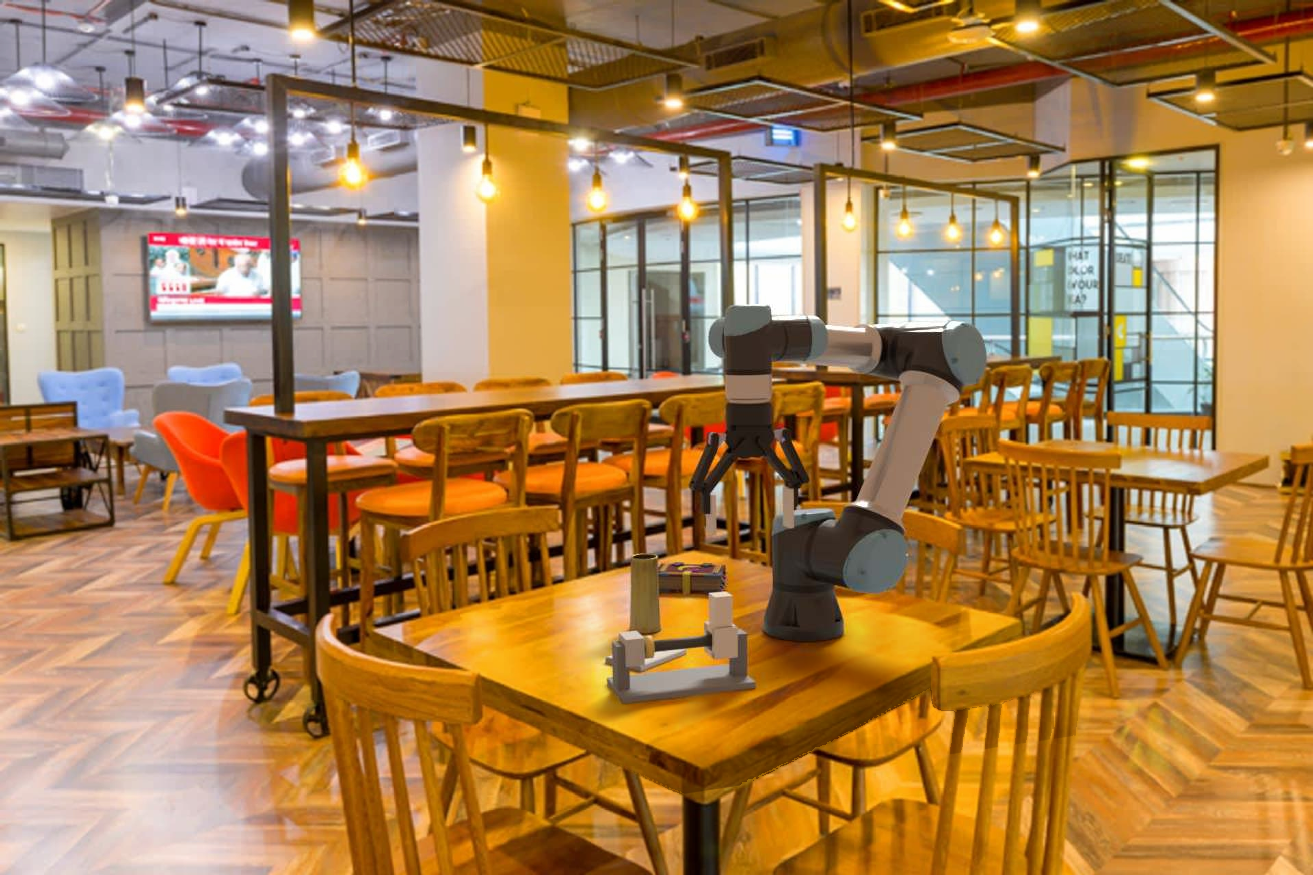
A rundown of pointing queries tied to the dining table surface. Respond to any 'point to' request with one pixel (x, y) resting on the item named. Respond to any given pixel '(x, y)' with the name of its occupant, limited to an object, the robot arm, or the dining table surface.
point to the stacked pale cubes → (721, 627)
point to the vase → (644, 594)
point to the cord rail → (673, 682)
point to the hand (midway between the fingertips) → (750, 530)
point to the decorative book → (691, 578)
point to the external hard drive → (655, 659)
